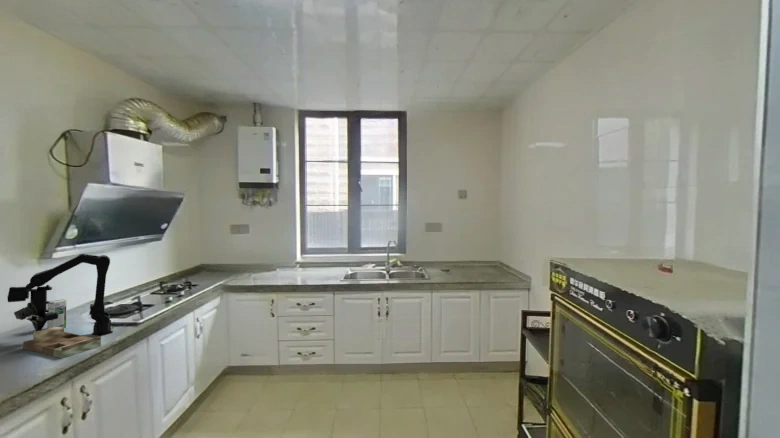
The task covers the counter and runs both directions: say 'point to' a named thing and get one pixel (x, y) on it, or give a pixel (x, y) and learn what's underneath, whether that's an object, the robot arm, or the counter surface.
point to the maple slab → (48, 334)
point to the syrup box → (60, 309)
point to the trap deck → (63, 345)
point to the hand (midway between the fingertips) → (38, 332)
